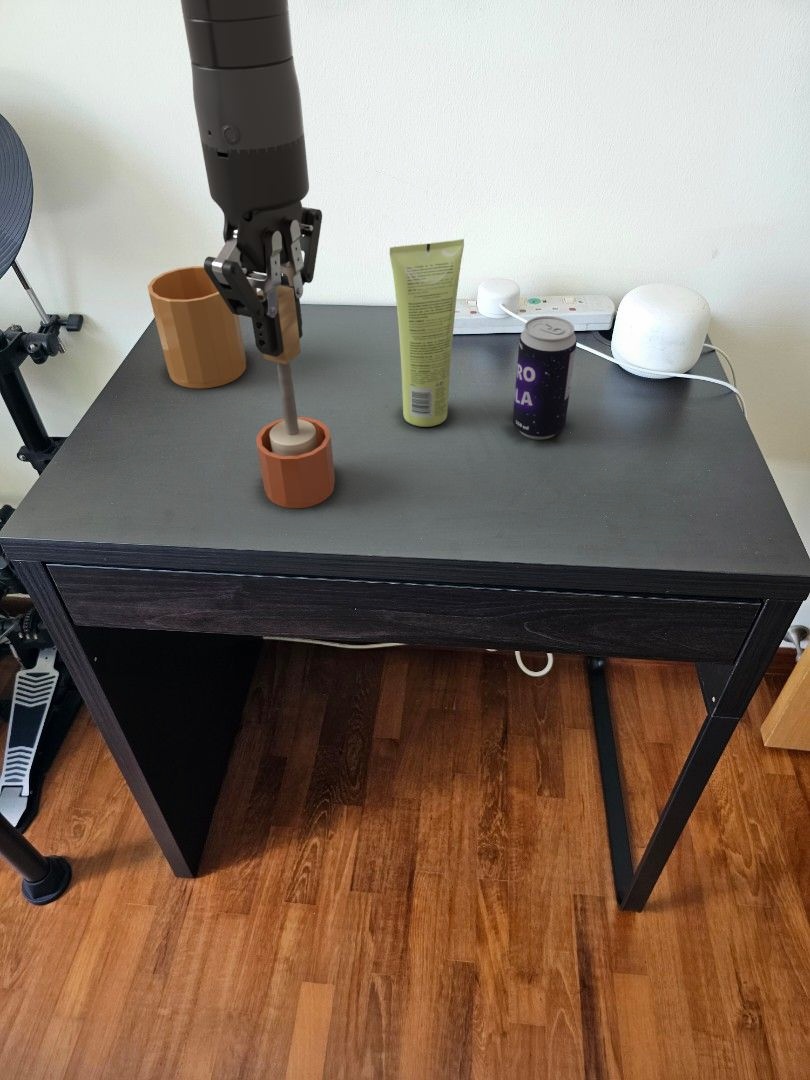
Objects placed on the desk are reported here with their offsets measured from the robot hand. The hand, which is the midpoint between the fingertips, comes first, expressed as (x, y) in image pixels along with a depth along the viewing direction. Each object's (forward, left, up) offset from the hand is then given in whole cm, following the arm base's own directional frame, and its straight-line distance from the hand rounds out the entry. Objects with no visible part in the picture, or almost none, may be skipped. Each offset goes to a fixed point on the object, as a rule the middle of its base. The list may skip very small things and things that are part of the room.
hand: (280, 344), depth 69 cm
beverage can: (+20, -18, -16) cm, 31 cm away
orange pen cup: (+15, +23, -16) cm, 32 cm away
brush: (0, 0, -15) cm, 15 cm away
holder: (0, 0, -16) cm, 16 cm away
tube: (+17, -6, -16) cm, 24 cm away
